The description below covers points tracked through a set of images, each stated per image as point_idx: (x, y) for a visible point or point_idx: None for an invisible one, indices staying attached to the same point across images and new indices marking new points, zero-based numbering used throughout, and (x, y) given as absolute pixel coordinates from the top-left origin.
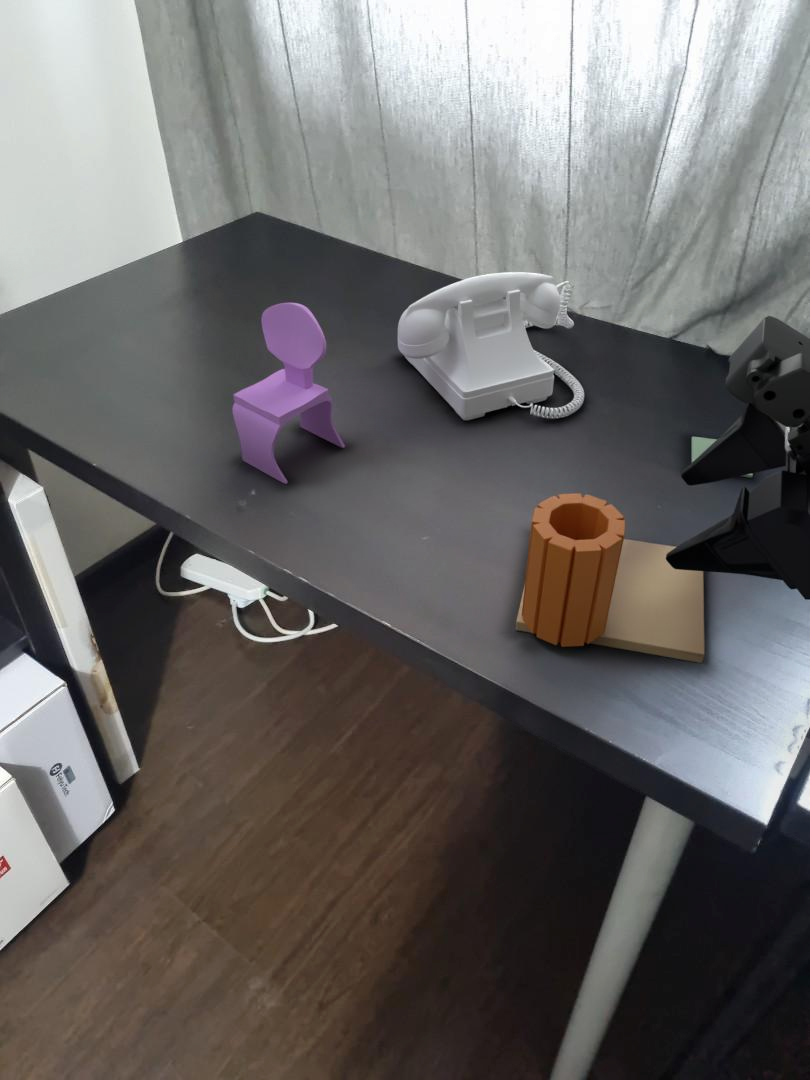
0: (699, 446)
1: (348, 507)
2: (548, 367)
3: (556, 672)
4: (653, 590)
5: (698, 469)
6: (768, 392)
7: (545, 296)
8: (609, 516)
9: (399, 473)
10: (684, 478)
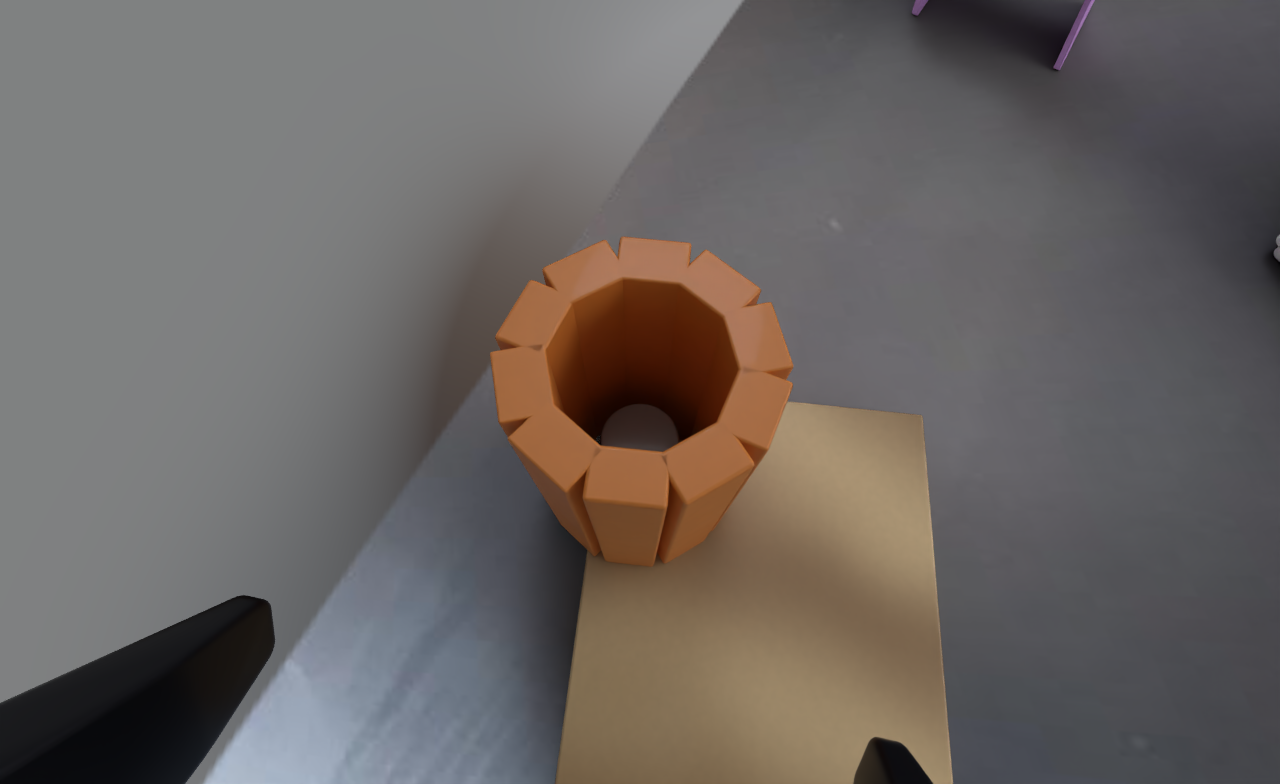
0: None
1: (882, 103)
2: None
3: (510, 470)
4: (759, 690)
5: None
6: None
7: None
8: (678, 453)
9: (1016, 162)
10: (868, 755)
